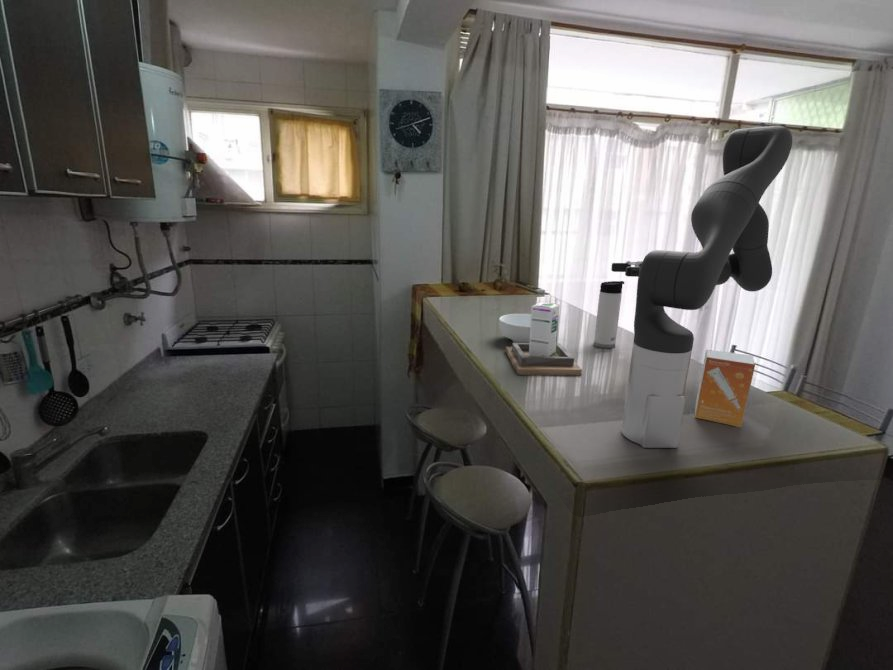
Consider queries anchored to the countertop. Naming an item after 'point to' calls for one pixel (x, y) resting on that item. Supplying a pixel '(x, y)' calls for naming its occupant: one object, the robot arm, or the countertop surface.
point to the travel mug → (608, 314)
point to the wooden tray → (542, 361)
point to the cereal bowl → (516, 327)
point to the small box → (724, 387)
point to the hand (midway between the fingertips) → (618, 269)
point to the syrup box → (544, 330)
